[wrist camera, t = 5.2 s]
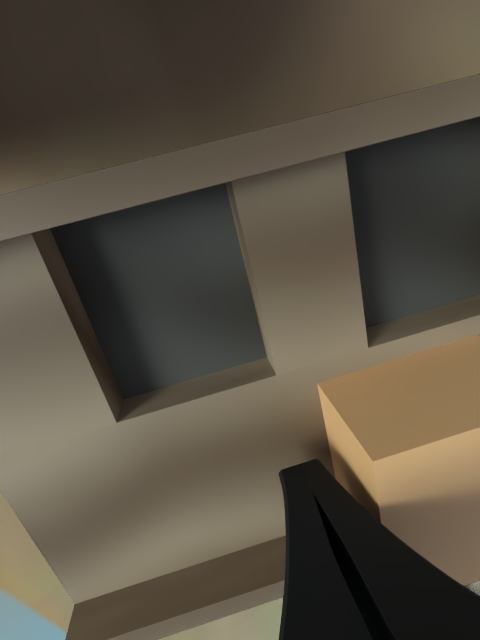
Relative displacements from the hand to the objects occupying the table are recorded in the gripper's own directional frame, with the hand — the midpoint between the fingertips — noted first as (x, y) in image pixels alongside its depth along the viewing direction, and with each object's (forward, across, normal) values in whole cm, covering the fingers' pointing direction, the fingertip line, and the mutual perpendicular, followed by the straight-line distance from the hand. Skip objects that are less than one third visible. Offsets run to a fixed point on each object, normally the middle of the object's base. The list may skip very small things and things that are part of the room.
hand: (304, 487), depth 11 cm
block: (+1, -4, 0) cm, 4 cm away
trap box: (+3, -1, -3) cm, 4 cm away
